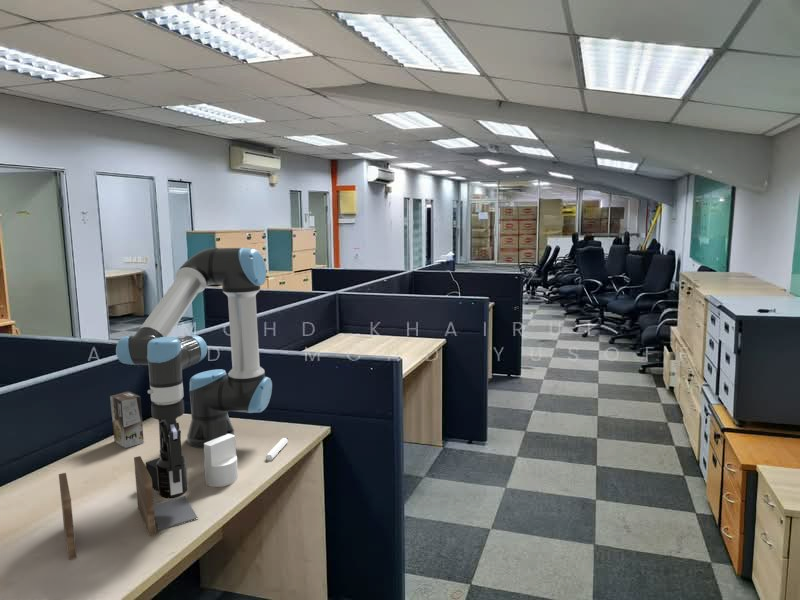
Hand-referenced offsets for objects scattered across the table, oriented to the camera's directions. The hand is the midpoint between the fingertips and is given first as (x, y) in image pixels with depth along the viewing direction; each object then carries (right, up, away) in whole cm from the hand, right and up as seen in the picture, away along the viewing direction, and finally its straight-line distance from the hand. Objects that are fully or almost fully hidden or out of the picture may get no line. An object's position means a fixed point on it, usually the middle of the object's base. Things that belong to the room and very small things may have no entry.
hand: (173, 487), depth 142 cm
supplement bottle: (0, -2, 0) cm, 2 cm away
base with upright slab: (+6, -4, +19) cm, 21 cm away
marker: (+18, -1, +39) cm, 43 cm away
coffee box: (-33, 0, +45) cm, 56 cm away
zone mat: (0, -7, +1) cm, 7 cm away
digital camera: (-8, -5, +14) cm, 17 cm away
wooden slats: (-12, -8, -7) cm, 16 cm away
